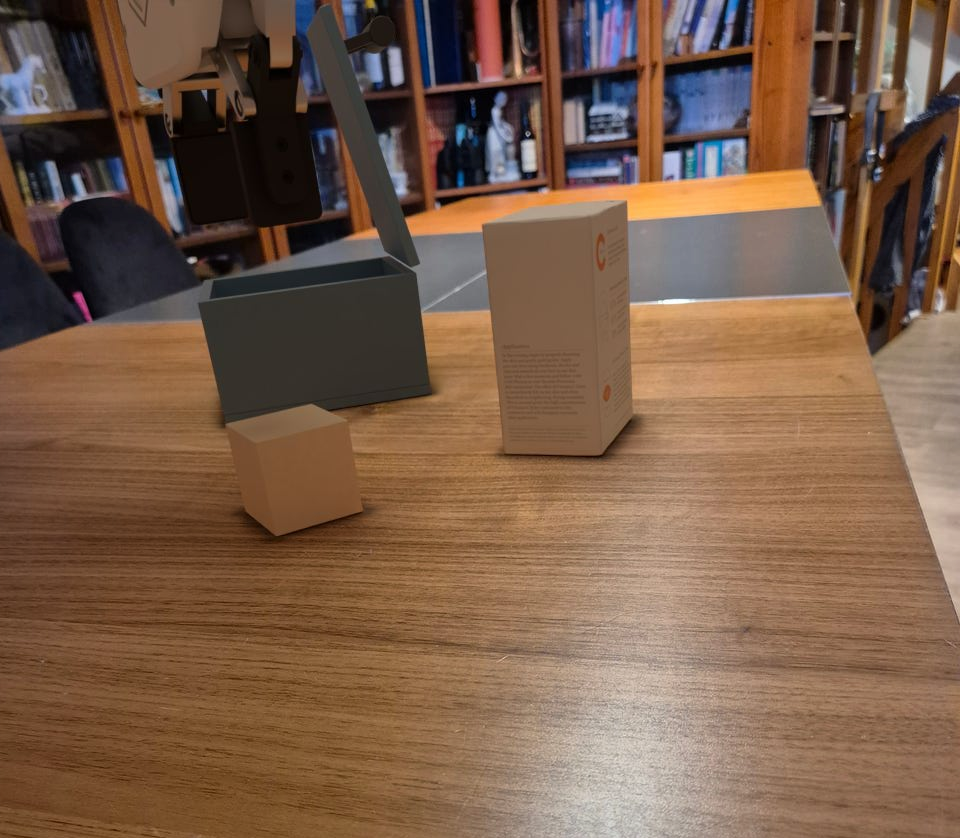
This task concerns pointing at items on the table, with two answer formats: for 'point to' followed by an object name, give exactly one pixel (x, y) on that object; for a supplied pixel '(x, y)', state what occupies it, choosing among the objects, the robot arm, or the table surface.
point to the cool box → (315, 337)
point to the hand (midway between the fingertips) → (251, 222)
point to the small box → (561, 325)
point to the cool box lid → (361, 122)
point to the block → (295, 468)
